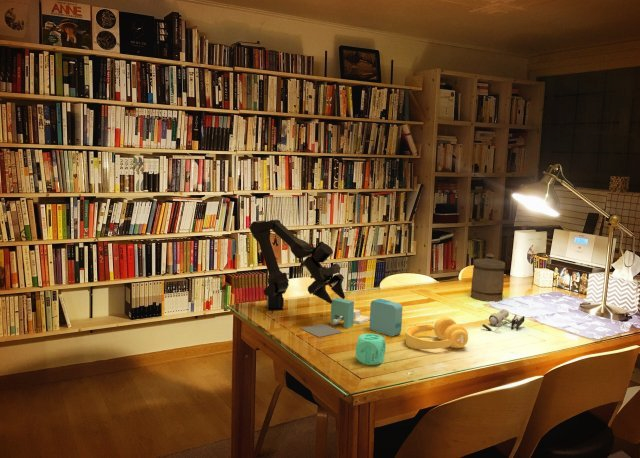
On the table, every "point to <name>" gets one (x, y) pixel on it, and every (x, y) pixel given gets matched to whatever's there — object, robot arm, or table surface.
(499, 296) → the wooden container
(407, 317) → the table surface
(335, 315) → the teal arch block
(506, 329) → the table surface
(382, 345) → the decorative dice
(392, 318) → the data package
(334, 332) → the grey mat
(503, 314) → the clip-on lamp
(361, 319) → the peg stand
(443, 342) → the headset
